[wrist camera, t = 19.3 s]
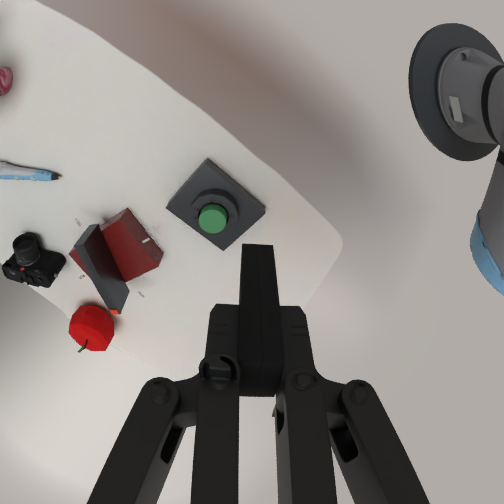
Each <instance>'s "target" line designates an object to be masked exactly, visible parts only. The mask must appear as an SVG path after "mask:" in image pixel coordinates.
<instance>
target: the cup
mask: <svg viewBox="0 0 504 504" xmlns="http://www.w3.org/2000/svg"><path fill="white" fill-rule="evenodd" d="M12 80H13V77H12V72H11V70H10V69H9V68H7V67H4V68H0V97H1V96H3V95H5V94H6V93H8V91H9V90H10V88H11V85H12Z"/></svg>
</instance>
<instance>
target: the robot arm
mask: <svg viewBox="0 0 504 504" xmlns="http://www.w3.org/2000/svg"><path fill="white" fill-rule="evenodd" d="M435 97H436V102H437V106H438V109H439V112H440V114H441V116H442V118H443V120H444V122H445V123H446V125H447V126H448V127H449V129H450V130H451V131H452V132H454V133H455V134H456V135H458V136H460V137H461V138H463V139H465V140H468V141H471V142H475V143H492V144H498V145H500V149H499V153H498V157H497V160H496V164H495V167H494V171H493V174H492V177H491V180H490V183H489V186H488V189H487V192H486V195H485V198H484V201H483V204H482V207H481V209H480V210H479V211H478V213H477V217H476V222H475V225H474V228H473V231H472V234H471V238H470V248H471V252H472V256H473V259H474V261H475V263H476V265H477V267H478V268H479V270H480V272H481V273H482V274H483V276H484V277H485V278H486V280H487V281H488V282H489V283H490V284H491V285H492V286H493V287H494V288H495V289H496V290H497V291H498V292H500V293H501V294H502V295H504V65H503V64H502V63H500V62H498V61H497V60H495V59H494V58H492V57H490V56H489V55H487V54H485V53H484V52H482V51H480V50H477V49H474V48H469V47H457V48H454V49H452V50H450V51H448V52H447V53H446V54H445V55H444V56H443V58H442V59H441V61H440V63H439V65H438V68H437V71H436V75H435ZM307 326H308V325H307V320H306V315H305V314H304V312H303V311H302V309H301V308H300V306H280V305H279V295H278V286H277V276H276V267H275V258H274V250H273V245H260V244H242V255H241V273H240V293H239V305H231V304H216V305H215V306H214V308H213V309H212V311H211V312H210V318H209V326H208V334H207V343H206V351H205V358H204V359H203V360H202V361H201V362H200V365H199V373H198V374H197V375H195V376H194V377H192V378H189V379H186V380H181V381H175V382H173V381H171V380H170V379H168V378H163V377H157V378H153V379H151V380H149V381H147V382H146V384H145V385H144V386H143V388H142V389H141V392H140V393H139V396H138V398H137V399H136V402H135V403H134V405H133V407H132V409H131V411H130V413H129V415H128V417H127V419H126V421H125V423H124V426H123V427H122V430H121V432H120V433H119V436H118V438H117V440H116V442H115V444H114V446H113V448H112V450H111V452H110V454H109V457H108V458H107V461H106V463H105V465H104V467H103V469H102V471H101V474H100V476H99V478H98V480H97V482H96V484H95V486H94V489H93V491H92V493H91V496H90V498H89V500H88V502H87V504H156V503H157V501H158V498H159V496H160V493H161V491H162V488H163V486H164V483H165V481H166V478H167V476H168V473H169V471H170V468H171V466H172V463H173V460H174V458H175V455H176V453H177V450H178V448H179V445H180V443H181V440H182V438H183V435H184V433H185V430H186V428H187V427H190V426H195V425H196V432H195V444H194V457H193V458H194V459H193V471H192V486H191V504H238V462H239V461H238V460H239V459H238V458H239V457H238V456H239V452H238V451H239V396H248V397H252V396H253V397H274V395H275V393H276V405H275V408H274V410H273V414H272V417H275V432H276V455H277V480H278V504H337V495H336V486H335V476H334V467H333V460H332V459H333V458H332V451H331V447H332V449H333V452H334V454H335V456H336V459H337V461H338V464H339V466H340V468H341V471H342V474H343V476H344V479H345V481H346V483H347V486H348V488H349V491H350V493H351V495H352V498H353V500H354V503H355V504H430V503H429V501H428V499H427V496H426V494H425V492H424V490H423V487H422V485H421V483H420V481H419V479H418V477H417V474H416V472H415V470H414V468H413V466H412V464H411V462H410V460H409V457H408V456H407V453H406V451H405V449H404V447H403V445H402V443H401V441H400V439H399V437H398V435H397V433H396V431H395V429H394V427H393V425H392V423H391V421H390V419H389V417H388V415H387V413H386V411H385V409H384V407H383V405H382V403H381V402H380V400H379V398H378V396H377V394H376V392H375V390H374V388H373V387H372V386H371V385H370V384H369V383H367V382H366V381H363V380H352V381H350V382H348V383H347V384H341V383H337V382H333V381H330V380H327V379H325V378H324V377H322V376H321V375H320V374H319V373H318V372H317V370H316V369H315V365H314V360H313V354H312V348H311V343H310V336H309V331H308V327H307Z"/></svg>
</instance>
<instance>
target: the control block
mask: <svg viewBox="0 0 504 504" xmlns="http://www.w3.org/2000/svg"><path fill="white" fill-rule="evenodd" d="M208 204H218V205H220V206H222V207H223V208H224V209H225V211H226V213H227V220H226V225H225V227H224V229H223V230H222V231H220V232H218V233H208V232H206V231H204V230H203V229H202V228H201V227H200V225H199V217H200V213H201V210H202V209H203V207H205V206H206V205H208ZM166 209H168V210H169V211H170V212H172V213H173V214H174V215H176V216H177V217H178V218H180V219H181V220H182V221H184V222H185V223H186V224H188V225H189V226H190V227H192V228H193V229H194V230H196V231H197V232H198V233H200V234H201V235H202V236H204V237H205V238H206V239H208V240H209V241H210V242H212V243H213V244H215V245H216V246H217V247H219V248H220V249H221V250H223V251H224V250H225V249H226V248H227V247H229V246H230V245H231V244H232V243H233V242H234V241H235V240H236V239H237V238H239V237H240V236H241V235H242V234H243V233H244V232H245V231H246V230H248V229H249V228H250V227H251V226H252V225H253V224H254V223H255V222H257V221H258V220H259V219H260V218H261V217H262V216H263V215H264V214H265V206H264V205H263V204H261V203H260V202H259V201H258V200H257V199H256V198H255V197H253V196H252V195H251V194H250V193H249V192H248V191H246V190H245V189H244V188H243V187H242V186H240V185H239V184H238V183H237V182H236V181H235V180H233V179H232V178H231V177H230V176H229V175H227V174H226V173H225V172H224V171H223V170H222V169H220V168H219V167H218V166H217V165H215V164H214V163H213V162H212V161H211V160H209V159H208V158H207V159H206V160H205V161H204V162H203V163H202V164H201V165H200V166H199V168H198V169H197V170H196V171H195V172H194V173H193V174H192V175H191V176H190V178H189V179H188V180H187V181H186V182H185V183H184V184H183V186H182V187H181V188H180V189H179V190H178V191H177V193H176V194H175V195H174V196H173V197H172V198H171V200H170V201H169V203H168V204H167V206H166Z"/></svg>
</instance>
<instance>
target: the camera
mask: <svg viewBox="0 0 504 504" xmlns="http://www.w3.org/2000/svg"><path fill="white" fill-rule="evenodd" d="M13 249H14V254H13V255H12V256H11V257H10V258H9V260H7V261H6V262H5V263H4V264H3V266H2V270H3V273H4V275H5V276H6V277H7V278H8V279H11V280H14V281H17V282H20V283H23V282H26V283H27V285H29V284H30V285H33V286H36V287H39V286H42V287H46V288H49V287H50V286H51V284H52V283H53V281H54V280H55V278H56V277H58V274H59V272H60V271H61V269H62V268H63V266H64V265H65V263H66V260H65V257H64V256H63V255H62V254H60V253H57V252H52V251H47V250H43V249H39V248H38V244H37V240H36V237H35V235H34V234H32V233H25V234H22V235H20V236H18V237H17V238H16V239H15V240H14V241H13Z"/></svg>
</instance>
